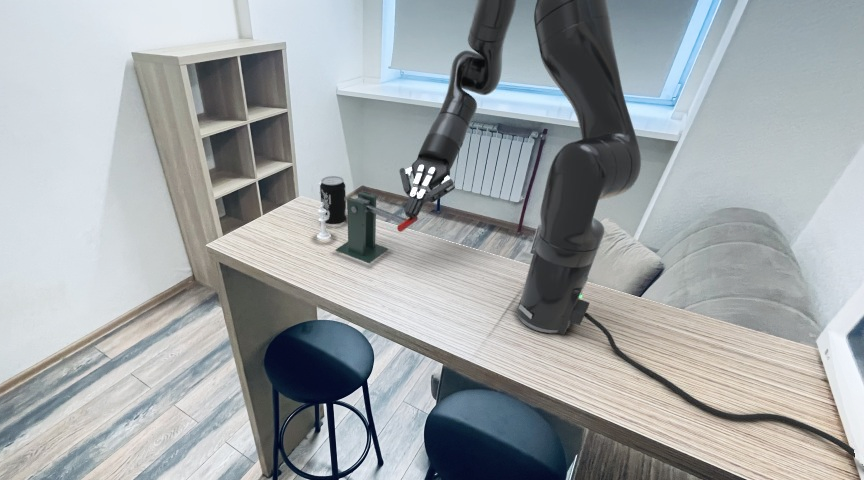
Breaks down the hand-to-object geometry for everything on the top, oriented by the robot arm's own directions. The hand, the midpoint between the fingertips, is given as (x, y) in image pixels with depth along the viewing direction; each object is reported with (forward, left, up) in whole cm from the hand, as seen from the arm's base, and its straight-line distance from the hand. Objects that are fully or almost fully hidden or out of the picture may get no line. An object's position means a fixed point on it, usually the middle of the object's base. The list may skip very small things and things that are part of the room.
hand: (409, 216), depth 85 cm
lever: (+6, +1, -2) cm, 7 cm away
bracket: (+12, +1, -13) cm, 18 cm away
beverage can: (+28, -8, -13) cm, 32 cm away
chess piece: (+24, +1, -13) cm, 27 cm away
